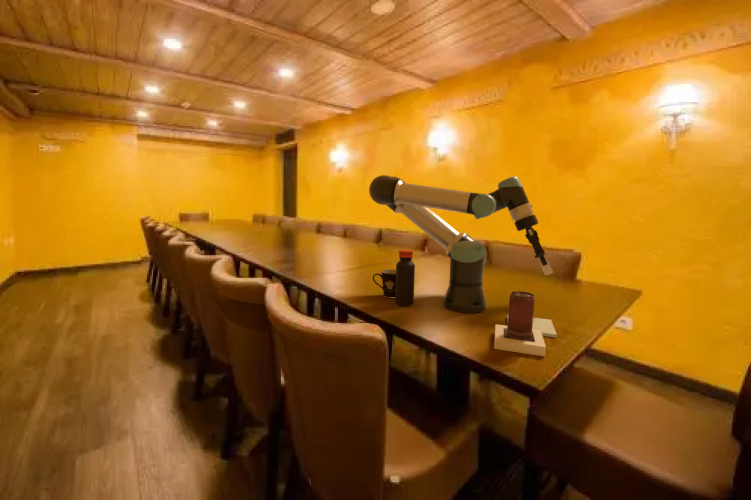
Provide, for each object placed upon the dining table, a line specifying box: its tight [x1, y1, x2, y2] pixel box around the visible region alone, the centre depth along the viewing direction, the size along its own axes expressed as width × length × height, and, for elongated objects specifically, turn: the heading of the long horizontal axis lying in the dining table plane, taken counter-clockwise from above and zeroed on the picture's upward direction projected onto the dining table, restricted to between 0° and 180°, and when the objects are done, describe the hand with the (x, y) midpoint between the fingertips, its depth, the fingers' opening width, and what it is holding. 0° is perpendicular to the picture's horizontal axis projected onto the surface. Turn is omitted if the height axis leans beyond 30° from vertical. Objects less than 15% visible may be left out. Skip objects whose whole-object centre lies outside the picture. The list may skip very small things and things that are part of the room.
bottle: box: [394, 249, 416, 307], centre depth 125 cm, size 7×7×20 cm
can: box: [506, 290, 536, 342], centre depth 92 cm, size 6×6×14 cm
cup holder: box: [493, 324, 547, 358], centre depth 93 cm, size 12×12×2 cm
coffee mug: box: [372, 269, 396, 298], centre depth 137 cm, size 12×9×10 cm
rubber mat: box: [506, 314, 558, 339], centre depth 105 cm, size 13×13×1 cm
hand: (548, 272), depth 122 cm, fingers open, 13 cm apart
